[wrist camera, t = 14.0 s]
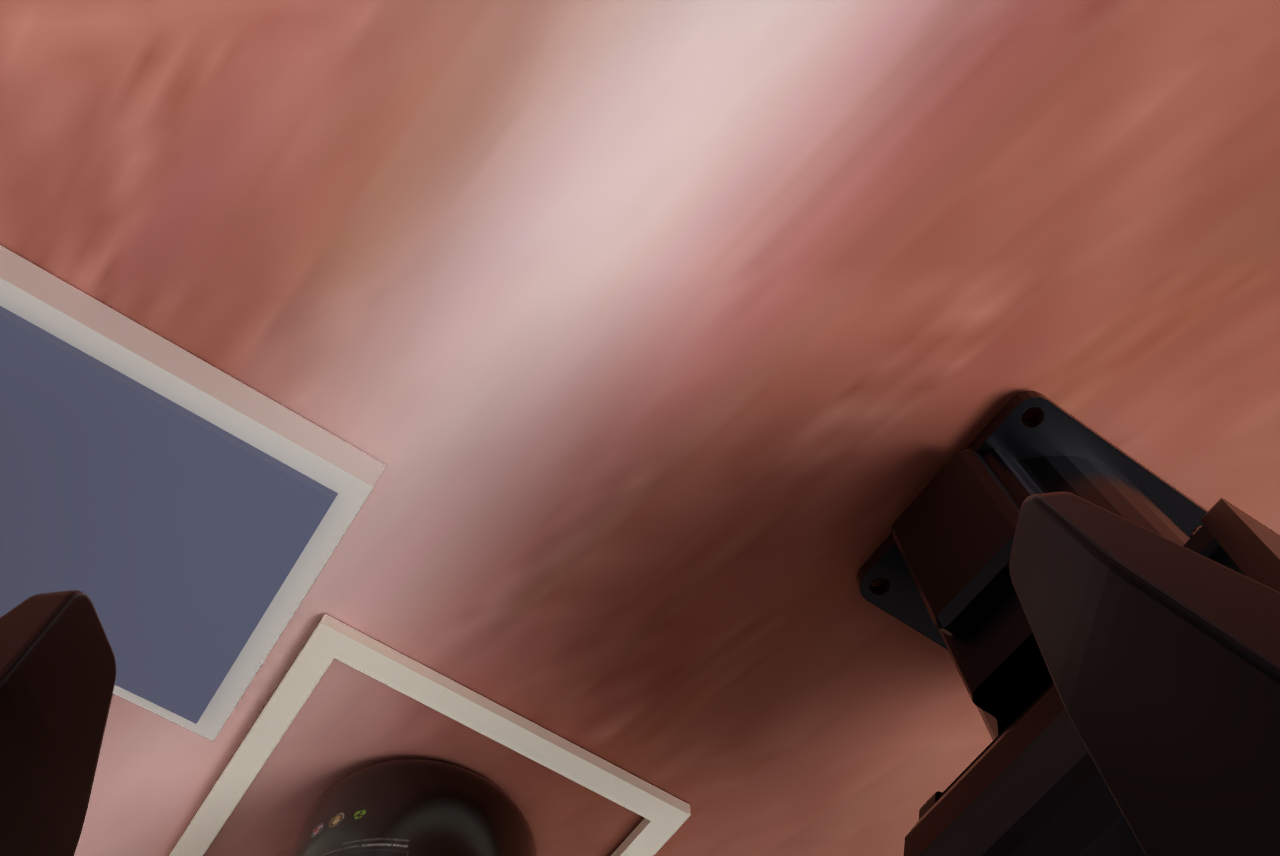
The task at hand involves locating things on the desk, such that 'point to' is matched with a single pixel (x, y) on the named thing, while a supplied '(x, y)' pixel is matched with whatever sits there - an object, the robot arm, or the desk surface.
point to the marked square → (447, 699)
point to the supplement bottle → (415, 815)
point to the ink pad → (158, 496)
